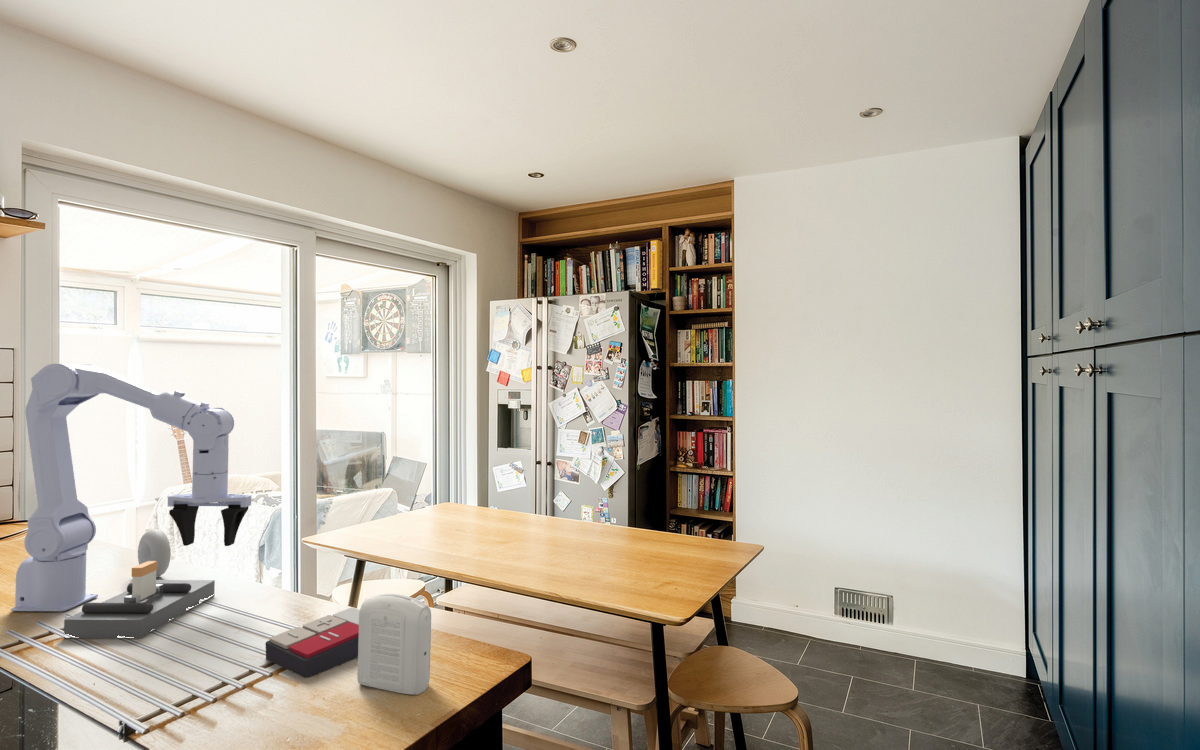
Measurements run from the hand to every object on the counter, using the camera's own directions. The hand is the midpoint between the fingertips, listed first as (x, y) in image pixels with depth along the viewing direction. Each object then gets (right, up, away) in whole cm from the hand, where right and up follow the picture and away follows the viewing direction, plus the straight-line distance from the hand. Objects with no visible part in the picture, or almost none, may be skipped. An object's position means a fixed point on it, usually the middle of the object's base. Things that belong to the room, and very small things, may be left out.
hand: (209, 544), depth 118 cm
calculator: (+32, -11, -21) cm, 40 cm away
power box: (-6, -10, -8) cm, 14 cm away
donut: (-19, -11, +13) cm, 25 cm away
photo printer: (+46, -11, -32) cm, 57 cm away
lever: (-5, -6, -10) cm, 13 cm away
